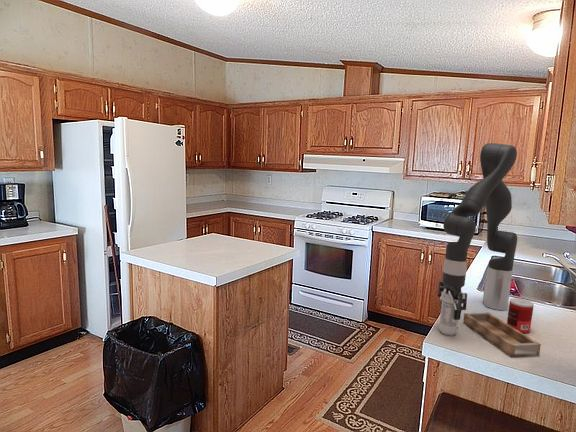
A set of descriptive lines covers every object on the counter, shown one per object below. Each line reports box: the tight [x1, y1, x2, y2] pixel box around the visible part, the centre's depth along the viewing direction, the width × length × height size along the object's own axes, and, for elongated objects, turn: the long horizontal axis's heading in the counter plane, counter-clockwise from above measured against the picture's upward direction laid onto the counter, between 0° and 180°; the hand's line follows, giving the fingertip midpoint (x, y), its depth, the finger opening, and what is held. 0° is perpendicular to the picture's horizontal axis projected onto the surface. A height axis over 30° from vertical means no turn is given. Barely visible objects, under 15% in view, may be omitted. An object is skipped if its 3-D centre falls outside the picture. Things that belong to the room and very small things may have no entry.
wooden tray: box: [462, 312, 542, 358], centre depth 142 cm, size 26×10×4 cm, turn 10°
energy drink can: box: [438, 293, 459, 336], centre depth 144 cm, size 6×6×15 cm
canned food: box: [506, 297, 535, 335], centre depth 149 cm, size 8×8×11 cm
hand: (449, 314), depth 144 cm, fingers open, 8 cm apart
